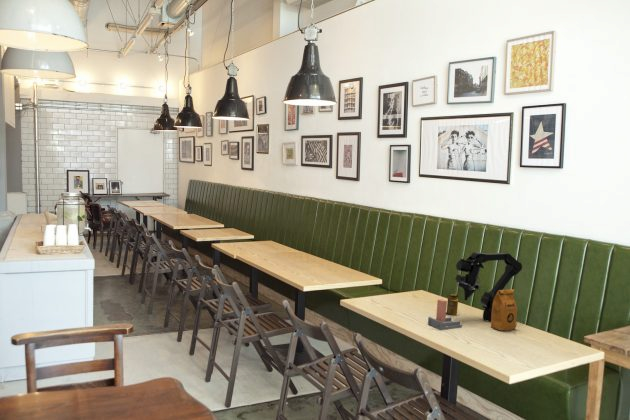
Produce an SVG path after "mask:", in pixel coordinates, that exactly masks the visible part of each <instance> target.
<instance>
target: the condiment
mask: <svg viewBox="0 0 630 420" xmlns="http://www.w3.org/2000/svg"><path fill="white" fill-rule="evenodd" d="M458 296H459V295H458V294H456V293H449V294H448V298H447V300H446V301H447V306H446V317H447V316H448V317H451V318H452V317H457V316H459V315H461V314H459V313H458V309H459V308H458V304H459V299H458V298H459V297H458Z"/></svg>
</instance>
